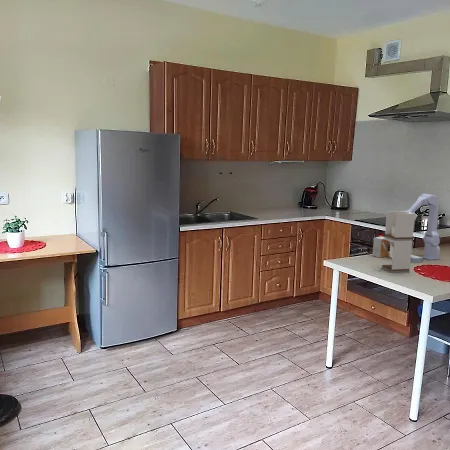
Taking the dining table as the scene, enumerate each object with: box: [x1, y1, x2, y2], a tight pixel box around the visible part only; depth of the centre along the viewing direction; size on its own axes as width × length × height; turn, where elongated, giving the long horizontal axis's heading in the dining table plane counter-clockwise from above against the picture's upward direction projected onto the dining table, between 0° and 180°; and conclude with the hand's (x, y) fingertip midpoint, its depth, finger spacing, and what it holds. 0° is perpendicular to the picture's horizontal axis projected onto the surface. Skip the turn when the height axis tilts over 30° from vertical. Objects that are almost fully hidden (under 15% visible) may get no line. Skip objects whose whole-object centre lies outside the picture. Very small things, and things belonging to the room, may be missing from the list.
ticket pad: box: [410, 254, 424, 264], centre depth 286 cm, size 7×13×3 cm, turn 22°
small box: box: [371, 236, 389, 259], centre depth 295 cm, size 8×6×13 cm
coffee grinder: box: [381, 210, 416, 274], centre depth 258 cm, size 11×11×35 cm
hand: (395, 256), depth 289 cm, fingers closed
